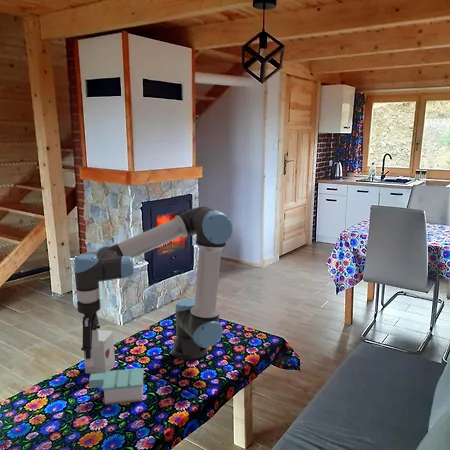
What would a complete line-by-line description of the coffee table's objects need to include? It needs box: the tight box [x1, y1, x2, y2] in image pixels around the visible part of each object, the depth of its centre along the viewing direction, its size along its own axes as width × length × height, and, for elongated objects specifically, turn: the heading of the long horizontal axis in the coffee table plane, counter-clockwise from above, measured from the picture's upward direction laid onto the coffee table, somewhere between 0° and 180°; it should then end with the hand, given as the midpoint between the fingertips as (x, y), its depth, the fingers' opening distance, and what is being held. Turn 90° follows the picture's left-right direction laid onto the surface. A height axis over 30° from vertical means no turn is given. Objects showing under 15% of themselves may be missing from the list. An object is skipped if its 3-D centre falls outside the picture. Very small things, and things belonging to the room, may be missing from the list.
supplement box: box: [83, 329, 116, 375], centre depth 170 cm, size 9×9×15 cm
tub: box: [103, 386, 144, 406], centre depth 154 cm, size 13×10×6 cm
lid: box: [88, 367, 145, 391], centre depth 153 cm, size 19×11×3 cm, turn 99°
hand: (92, 355), depth 149 cm, fingers open, 13 cm apart
